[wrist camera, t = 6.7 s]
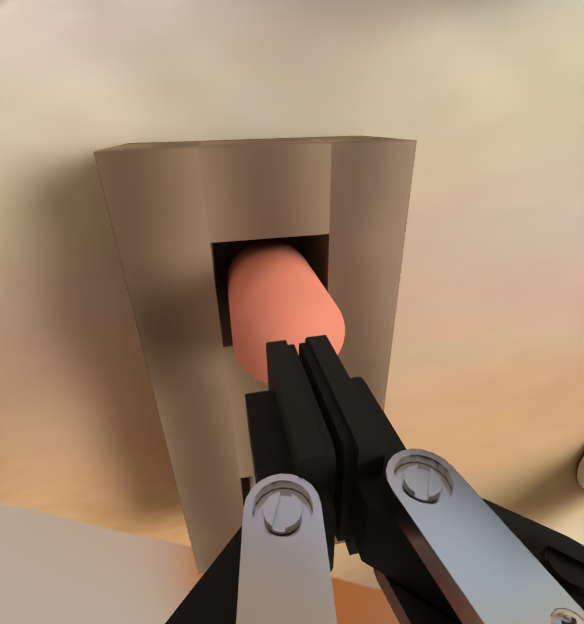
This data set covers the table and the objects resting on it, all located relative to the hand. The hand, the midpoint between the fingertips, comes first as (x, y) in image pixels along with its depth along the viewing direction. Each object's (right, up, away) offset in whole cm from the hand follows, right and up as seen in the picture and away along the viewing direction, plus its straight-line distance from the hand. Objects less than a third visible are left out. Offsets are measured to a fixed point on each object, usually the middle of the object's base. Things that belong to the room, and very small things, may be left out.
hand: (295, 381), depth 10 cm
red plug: (-1, +3, +7) cm, 8 cm away
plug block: (-2, -1, +14) cm, 15 cm away
